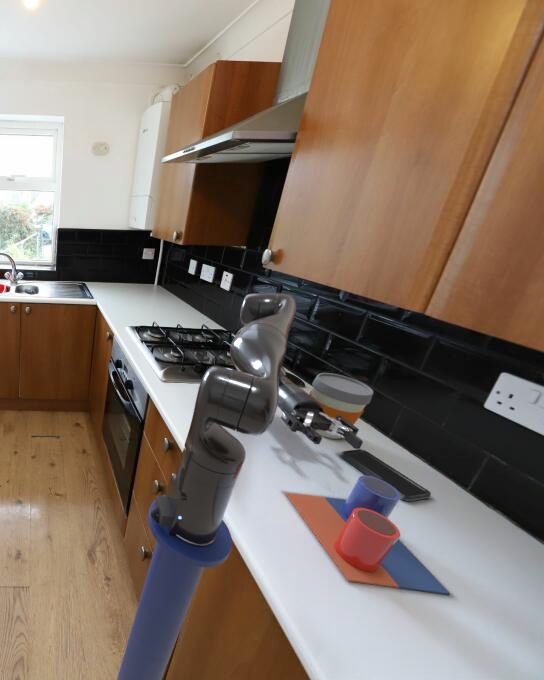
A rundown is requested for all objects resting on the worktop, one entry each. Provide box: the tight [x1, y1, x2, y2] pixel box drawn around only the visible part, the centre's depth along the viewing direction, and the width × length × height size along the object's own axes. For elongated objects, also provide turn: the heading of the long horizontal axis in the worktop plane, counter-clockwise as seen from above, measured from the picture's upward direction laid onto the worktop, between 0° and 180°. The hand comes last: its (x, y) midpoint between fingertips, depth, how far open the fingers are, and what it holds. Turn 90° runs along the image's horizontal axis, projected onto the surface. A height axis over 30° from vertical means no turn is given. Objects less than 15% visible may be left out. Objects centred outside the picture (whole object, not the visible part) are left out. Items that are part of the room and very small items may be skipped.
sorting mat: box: [285, 492, 451, 596], centre depth 68 cm, size 16×19×1 cm
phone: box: [339, 448, 432, 502], centre depth 84 cm, size 8×1×15 cm
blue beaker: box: [342, 474, 402, 519], centre depth 70 cm, size 6×6×9 cm
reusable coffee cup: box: [308, 372, 374, 440], centre depth 98 cm, size 13×12×15 cm
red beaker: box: [334, 508, 401, 572], centre depth 62 cm, size 6×6×8 cm
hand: (339, 443), depth 78 cm, fingers open, 8 cm apart
